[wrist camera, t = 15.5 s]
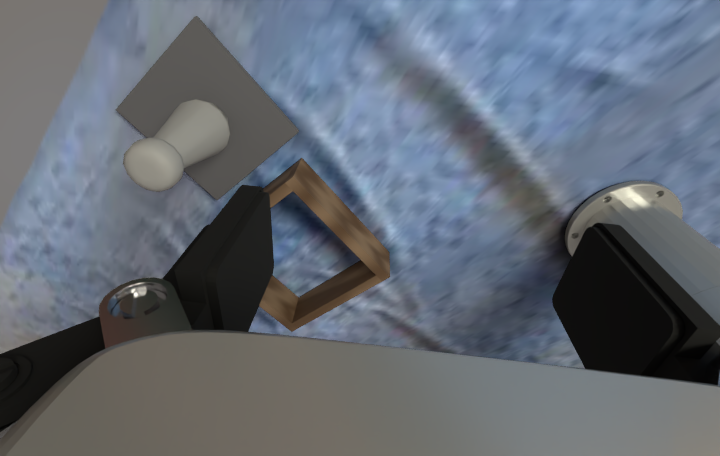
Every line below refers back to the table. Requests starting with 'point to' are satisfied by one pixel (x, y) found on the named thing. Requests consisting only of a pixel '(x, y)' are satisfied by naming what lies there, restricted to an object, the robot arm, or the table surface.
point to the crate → (347, 229)
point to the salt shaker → (177, 145)
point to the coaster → (215, 85)
